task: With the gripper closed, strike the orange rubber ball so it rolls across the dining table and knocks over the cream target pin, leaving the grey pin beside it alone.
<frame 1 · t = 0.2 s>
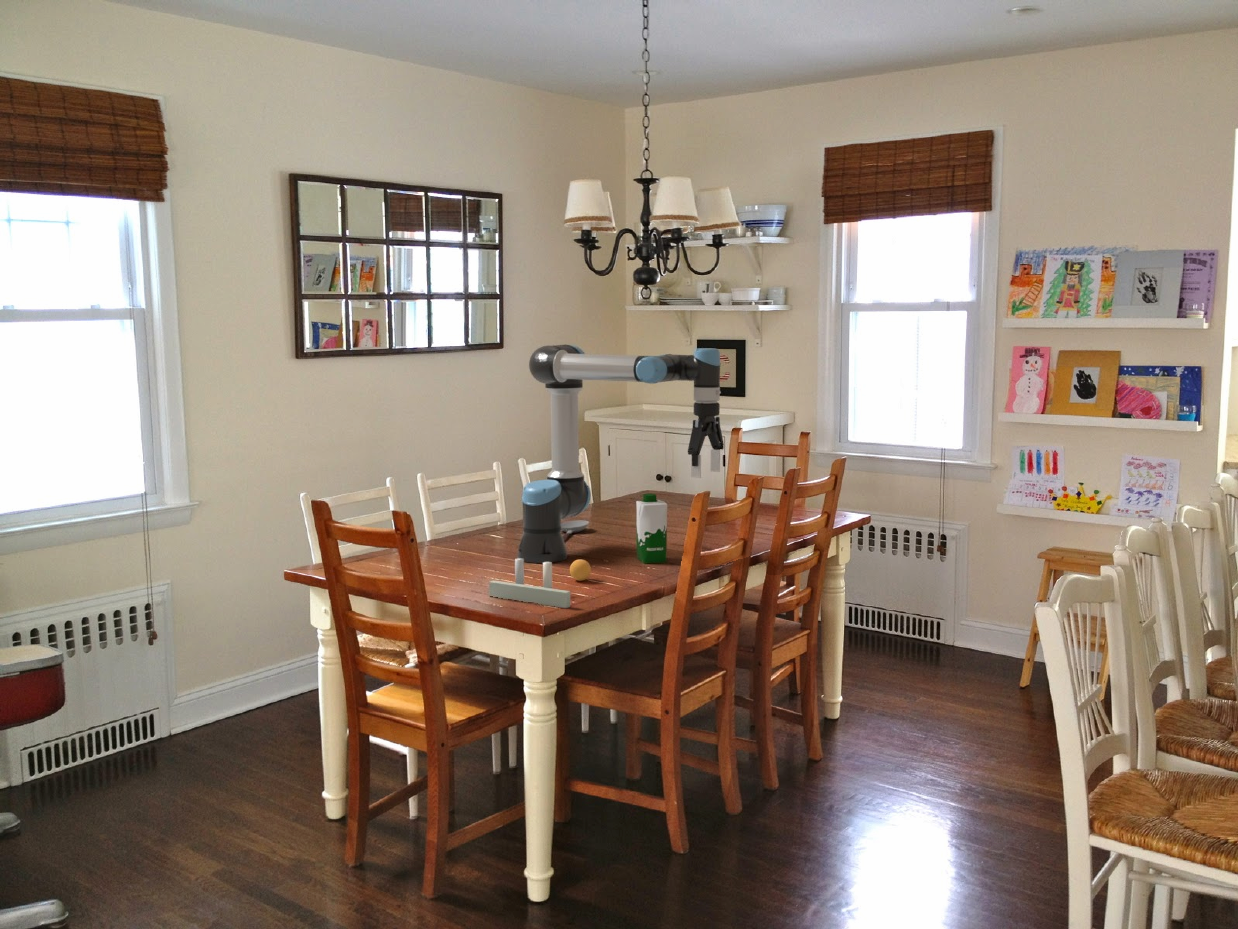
hand: (705, 474, 322), 28 cm above the table, fingers open, 13 cm apart
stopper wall: (529, 601, 286), on the table
target pin: (547, 593, 294), on the table
milk carton: (651, 561, 334), on the table
ball: (580, 570, 309), on the table
spoon: (566, 539, 368), on the table
grey pin: (519, 589, 299), on the table
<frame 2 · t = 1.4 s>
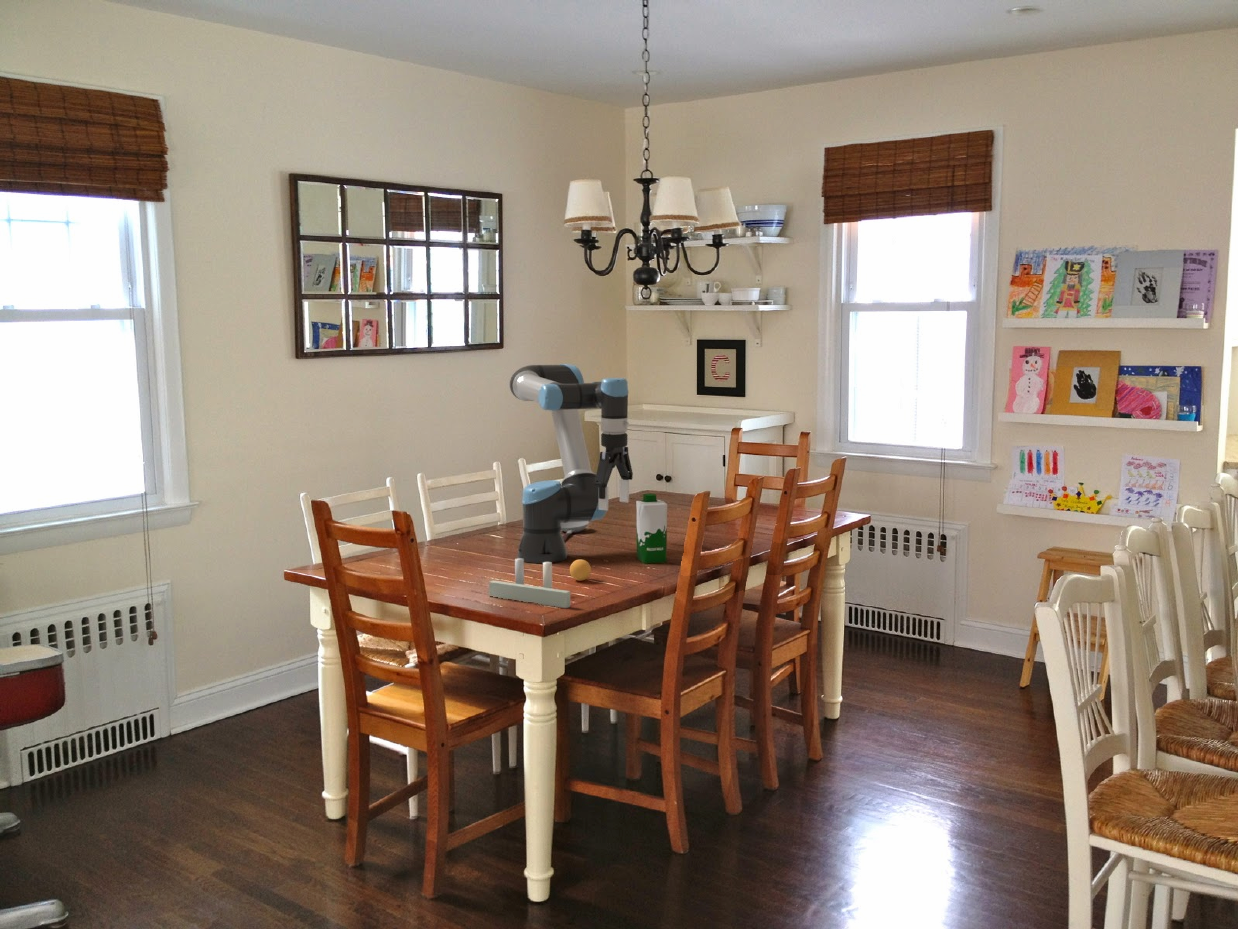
hand: (613, 505, 316), 19 cm above the table, fingers open, 13 cm apart
nothing on the table moved.
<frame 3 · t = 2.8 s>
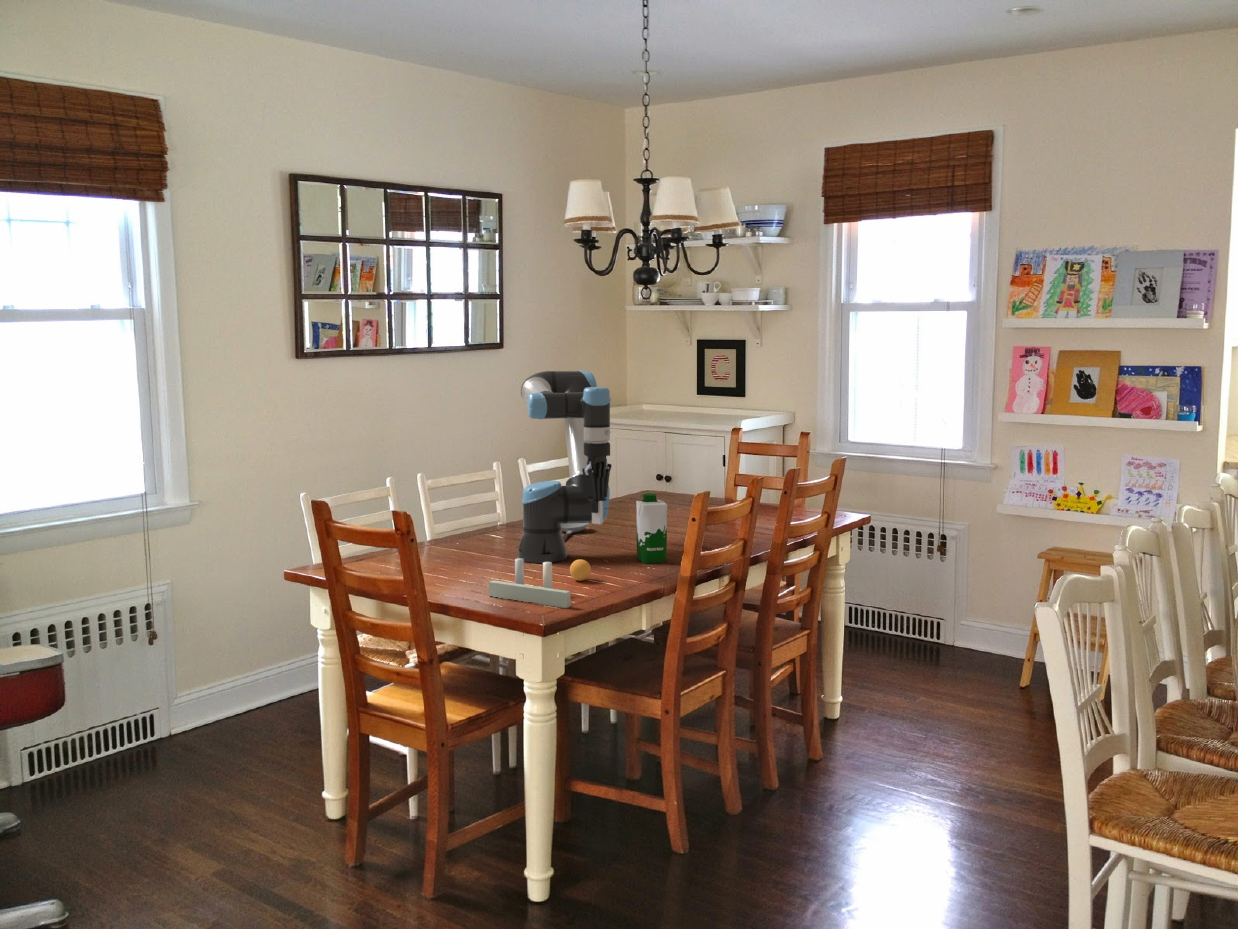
hand: (597, 523, 315), 15 cm above the table, fingers closed
nothing on the table moved.
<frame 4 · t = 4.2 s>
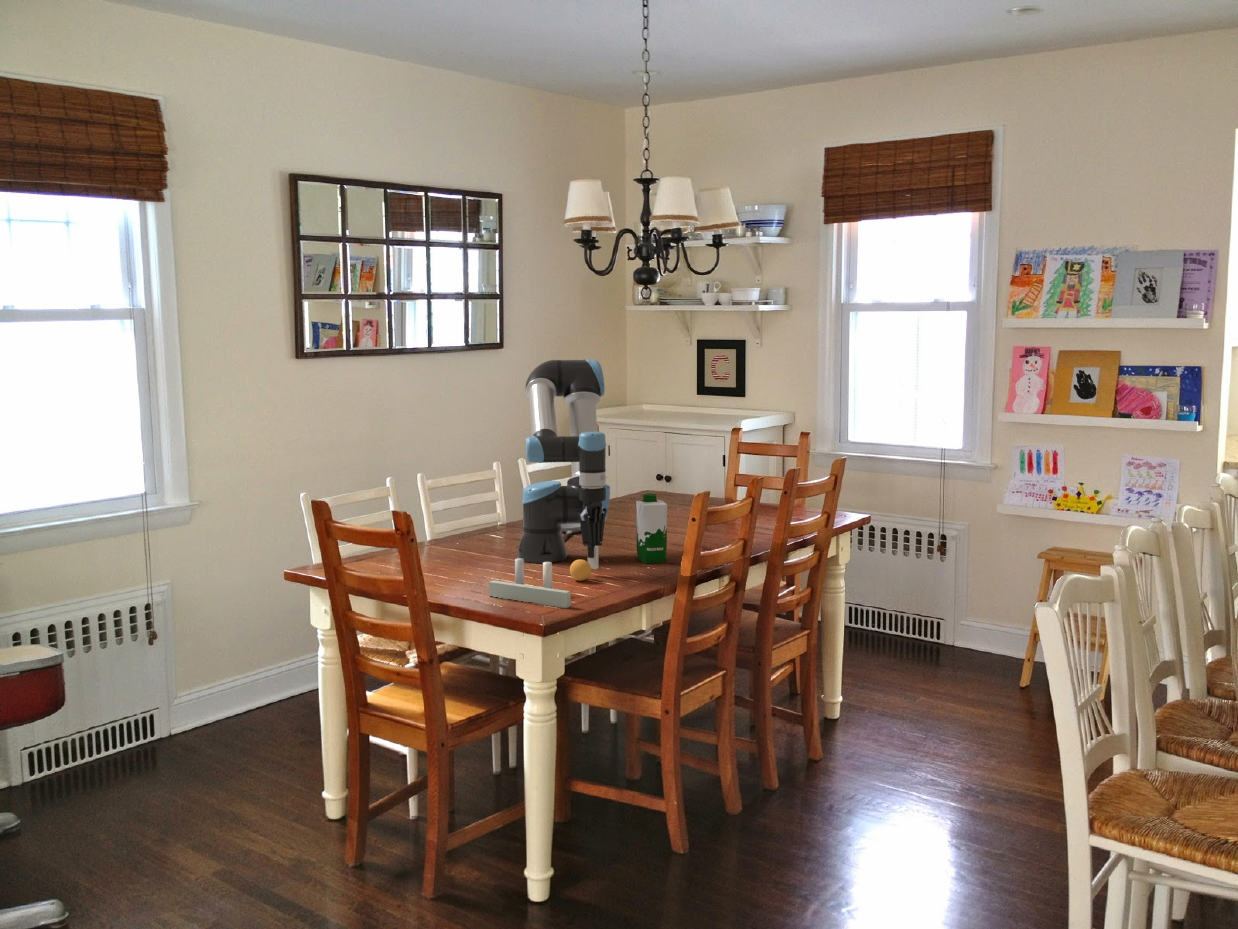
hand: (593, 568, 314), 2 cm above the table, fingers closed
nothing on the table moved.
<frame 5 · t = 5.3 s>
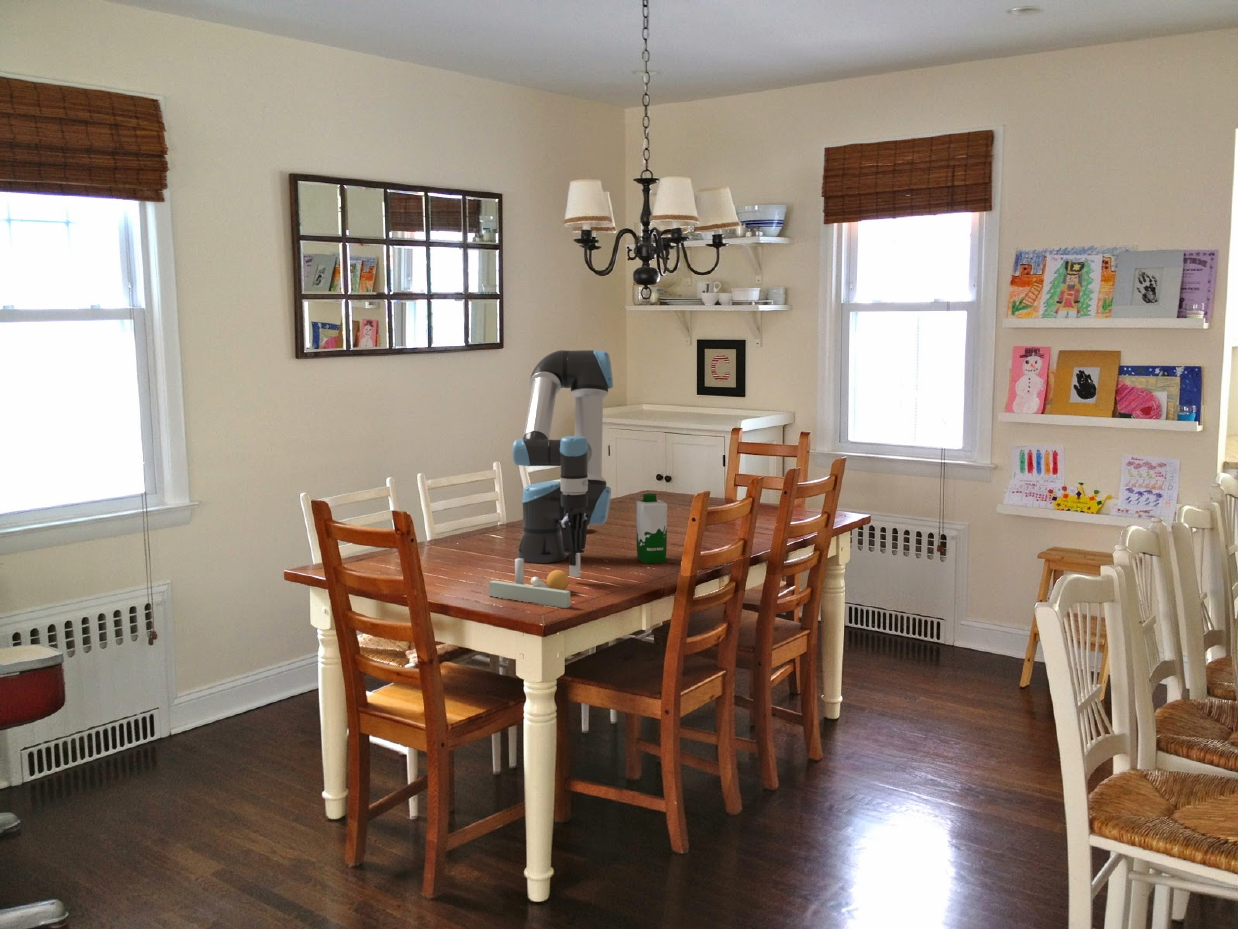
hand: (574, 576, 306), 2 cm above the table, fingers closed
target pin: (546, 590, 294), point 1 cm above the table, tilted 59°
ball: (557, 581, 296), on the table
everything else where it was.
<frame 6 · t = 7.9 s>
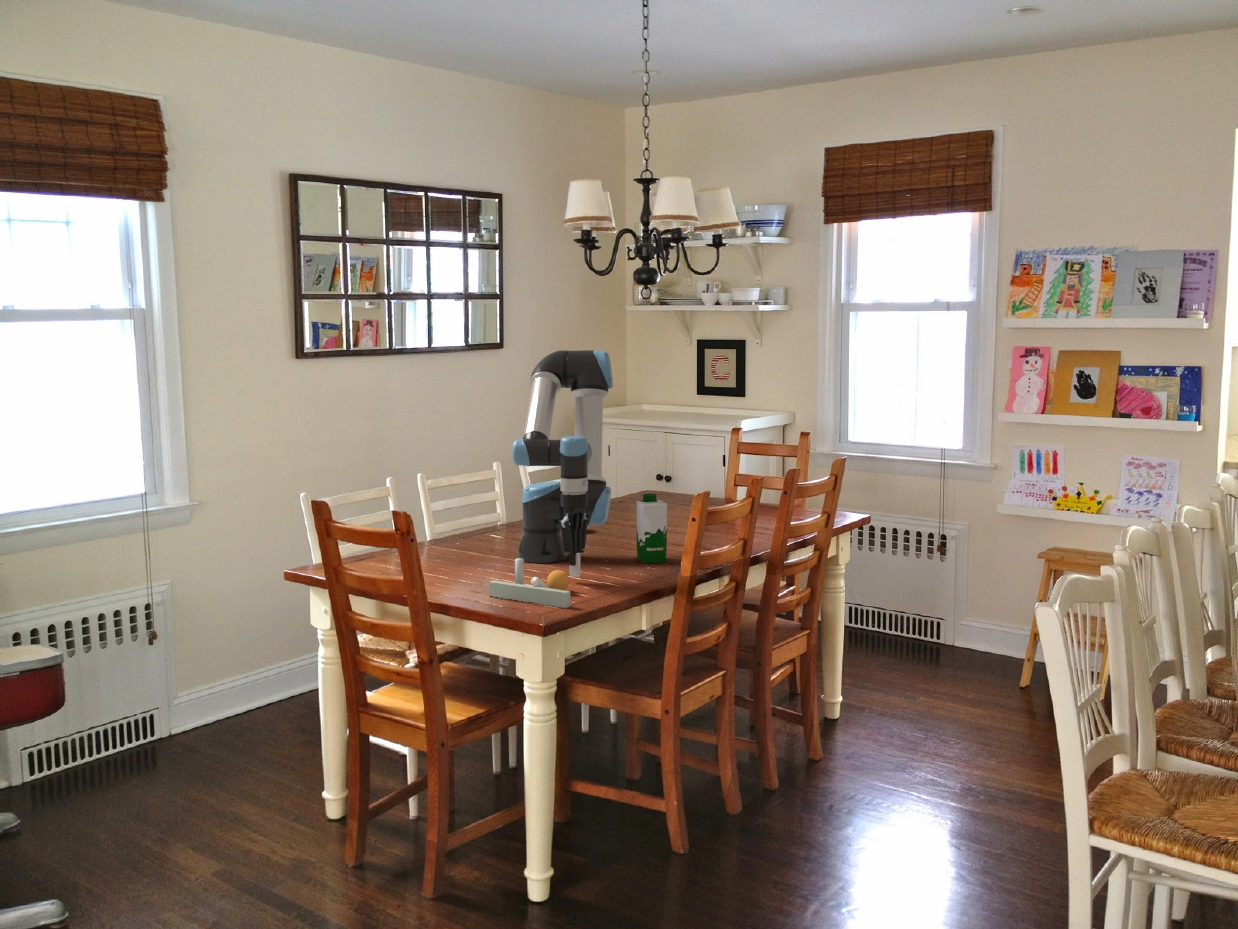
hand: (574, 576, 306), 2 cm above the table, fingers closed
target pin: (546, 590, 294), point 1 cm above the table, tilted 60°, touching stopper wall
everything else where it was.
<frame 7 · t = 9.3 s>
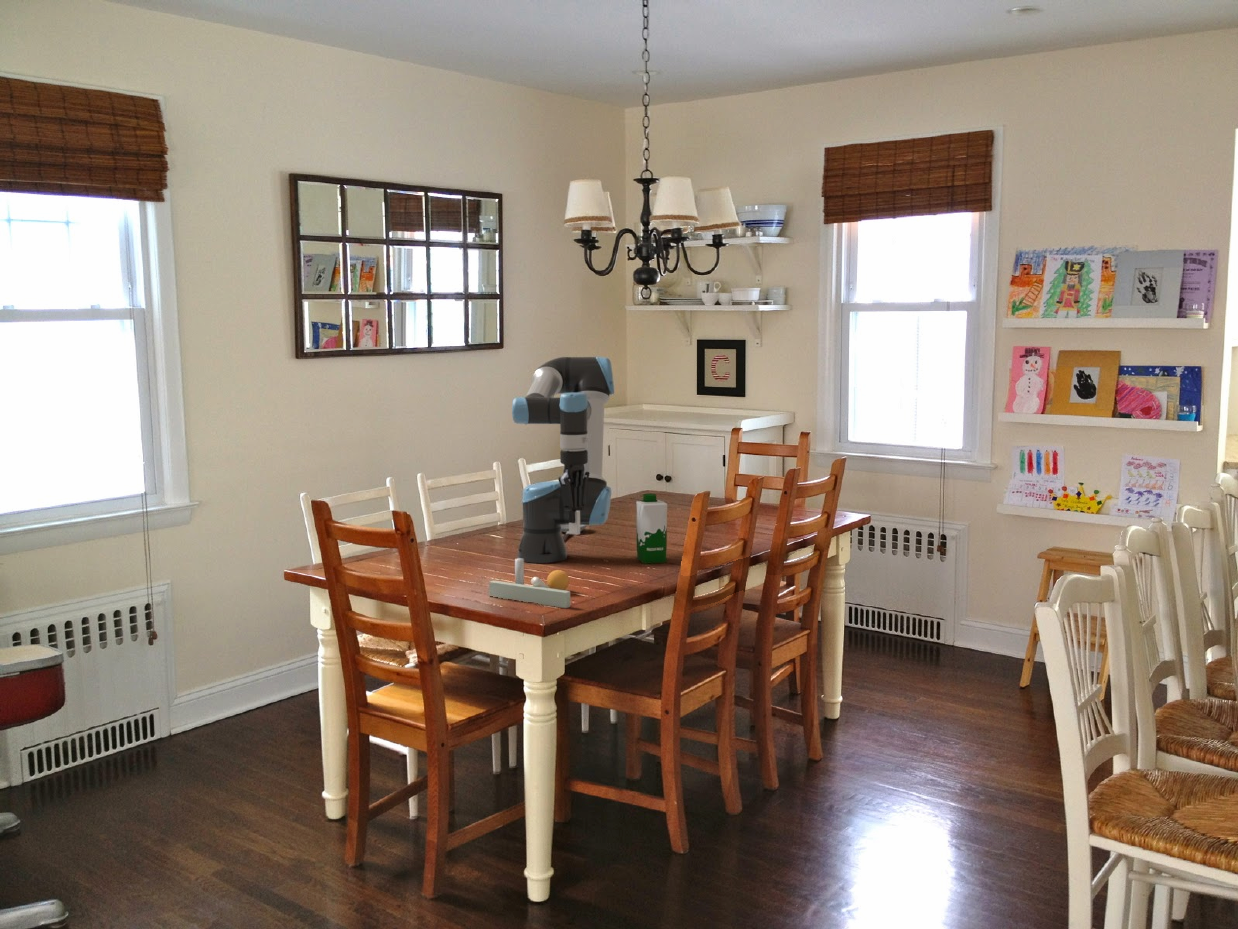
hand: (574, 533, 305), 14 cm above the table, fingers closed
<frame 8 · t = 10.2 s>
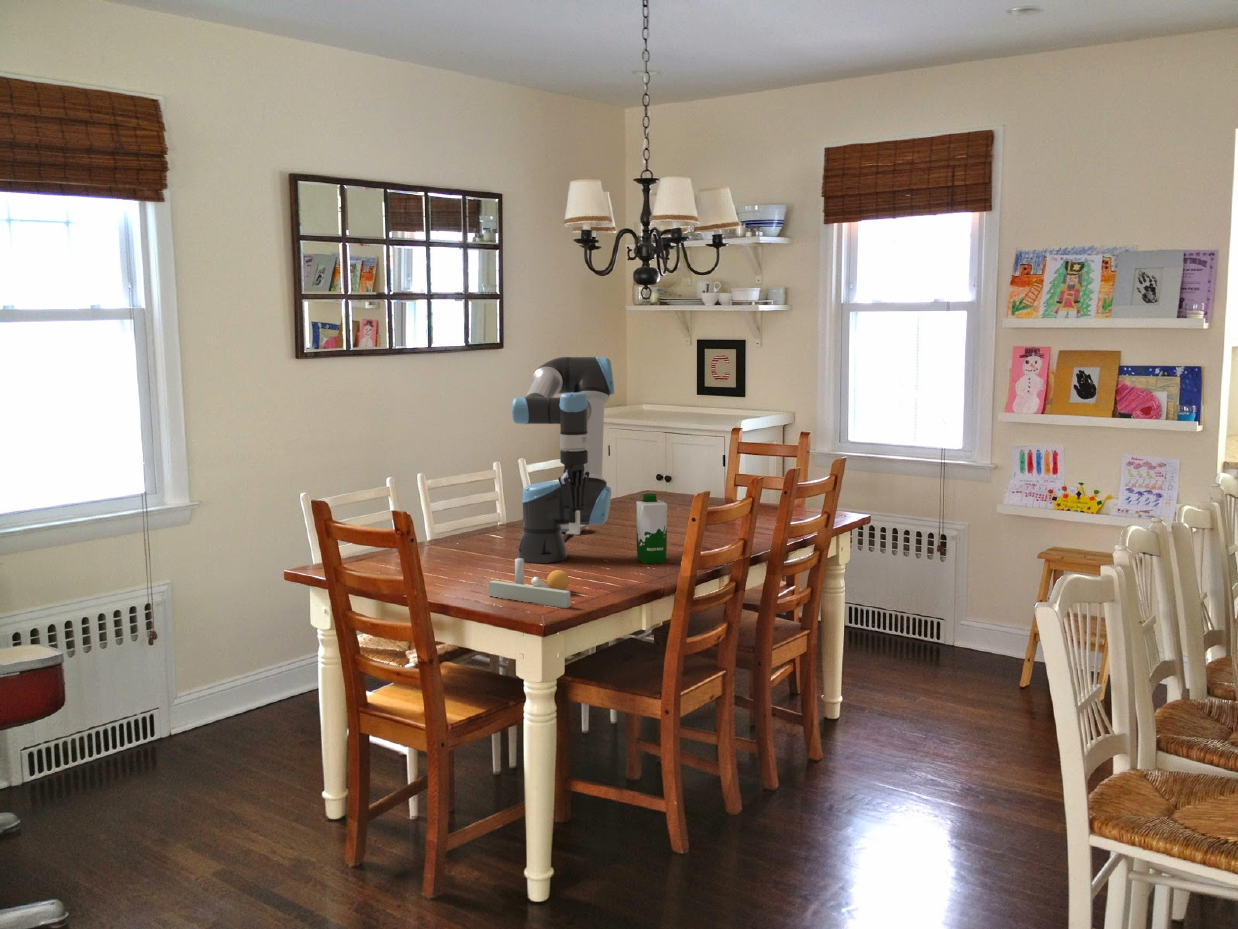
hand: (574, 533, 305), 14 cm above the table, fingers closed
at the end: target pin tilted 60°; target pin never touched the robot; ball moved 14.0 cm from its start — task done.
